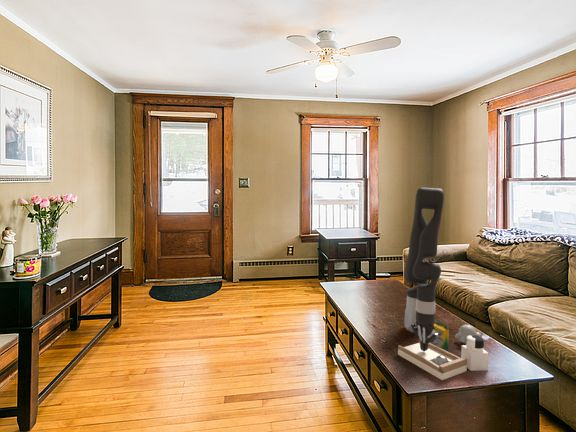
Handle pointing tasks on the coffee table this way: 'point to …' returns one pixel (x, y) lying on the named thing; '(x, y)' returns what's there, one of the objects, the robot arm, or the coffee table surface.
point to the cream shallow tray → (428, 360)
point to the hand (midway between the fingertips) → (423, 350)
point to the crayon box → (441, 336)
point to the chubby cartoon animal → (466, 333)
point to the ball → (441, 360)
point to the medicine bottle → (475, 353)
